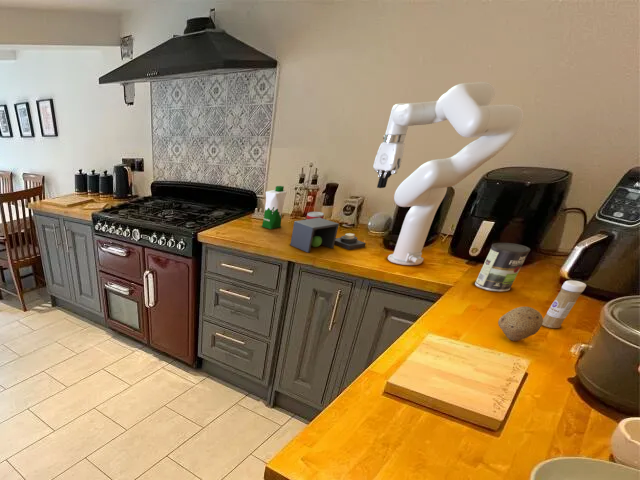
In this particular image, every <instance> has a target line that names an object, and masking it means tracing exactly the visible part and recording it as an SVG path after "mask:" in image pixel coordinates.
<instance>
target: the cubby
mask: <svg viewBox="0 0 640 480" xmlns="http://www.w3.org/2000/svg"><path fill="white" fill-rule="evenodd" d="M339 224H340V223H338V222H335V221H332V220H328V219H325V218H313V219H307V220H306V219H301V220H295V221H293V227H292V234H291V240H290V244H289V245H290V246H291V247H294V248H296V249H298V250H301V251H302V252H306V253H310V252H311V248H312V245H311V243H312V238H313V237H314V236H319V237H321V239H322V243H321V245H322V246H325V247H327V248H330V249H334V247H335V244H334V243H335V239H336V238H337V234H338V229H339Z"/></svg>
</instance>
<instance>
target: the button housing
mask: <svg viewBox="0 0 640 480" xmlns="http://www.w3.org/2000/svg"><path fill="white" fill-rule="evenodd" d="M344 237H345V235H341V236H340V237H336V239H335V243H334V246H338V247H340V248H343V249H346V250H348V251H351V250H355V249H356V250H357V249H361V248H365V247H366V242H364V241H362V240H359V239H358V237H357V236H354V239H346V238H344Z"/></svg>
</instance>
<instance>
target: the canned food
mask: <svg viewBox="0 0 640 480" xmlns="http://www.w3.org/2000/svg"><path fill="white" fill-rule="evenodd" d="M313 218H323V219H325V212H322V211H309V212H307V214H306V219H305V220H307V219H313Z"/></svg>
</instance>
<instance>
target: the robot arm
mask: <svg viewBox="0 0 640 480" xmlns="http://www.w3.org/2000/svg"><path fill="white" fill-rule="evenodd" d="M495 97H496V87H495V86H494V85H493V84H492V83H490V82H487V81H475V82H462V83H458V84H455V85H454V86H452V87H451V88H449V89H448V90H447V91H446V92H444V93H443V94H442V95H441V96H440V97H439V98H438V99H437V100H432V101H418V102H401V103H395V104H394V105H393V106H392V107H391V111H390V114H389V119H388V122H387V126H386V130H385V134H384V135H383V136H382V139H383V141H382V142H381V143H380V145H379V147H378V148H377V149H378V150H377V152H376V154H375V159H374V162H373V165H372V168H373V169H374V172H376V173H377V174H378V176H377V177H378V182H377V185H376V188H378V189H384V188H386V187H387V183H388V180H389V178H390V177H391V176H392V175H396V174H398V170H399V169H400V167H401V165H402V162H403V161H402V160H403V157H404V152H405V140H406V136H407V133H408V129H409V127H413V126H424V125H425V126H426V125H432V124H436V123H440V122H444V121H448V123H450V125H451V126H452V127H453V129H454V130H455V131H456V133H457V134H458V135H460V136H461V137H462V138H477V139H475V140H473V141H471V142H470V143H468V144H466V145H465V146H464V147H463V148H461V149H460V150H459V151H457V153H455V154H454V155H452V156H450V157H446V158H436V159H430V160H428V161H426V162H424V163H423V164H421V165H420V166H419V167H418V168H416V169H415V170H414V171H413V172H412V173H411V174H409V175H408V176H407V177H406V178H405V179H403V181H401V182H400V184H398V186H397V188H396V189H395V191H394V195H393V200H394V203H395V204H396V205H397V206H398V207H402V208H409V207H410V208H409V210H408V211H407V212H406V214H405V217H404V220H403V222H402V225H401V229H400V232H399V235H398V238H397V241H396V244H395V247H394V250H393V253H390V254H388V256H387V260H388V262H391V263H393V264H397V265H403V266H418V265H421V264H422V263H423V262H424V260H425V258H424V257H422V255H423V248H424V246H425V244H426V243H425V242H426V240H427V237H428V235H429V232H430V229H431V226H432V224H433V221H434V218H435V216H436V214H437V211H438V209H439V207H440V205H441V203H442V202H443V200H444V198H445V196H446V194H447V191H448V188H451V187H454V186H456V185H457V184H459V183H461V182H462V181H463V180H464V179H466V178H467V177H468V176H470V175H471V174H473V172H475V171H477V169H479V168H480V167H482V166H483V165H484V164H485V163H487V162H488V161H490V160H491V159H493V158H494V157H495V156H496V155H498V154H499V153H501V152H502V151H503V150H505V149H506V148H507V147H508V146H509V145H510V144H511V143H512V142H513V141H514V140H515V138H516V137H517V135H518V133H519V132H520V130H521V127H522V126H523V122H524V115H525V114H524V111H523V109H522V108H521V107H520V106H518V105H516V104H510V103H502V104H499V103H498V104H491V103H492V101H493V100H494V98H495Z"/></svg>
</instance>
